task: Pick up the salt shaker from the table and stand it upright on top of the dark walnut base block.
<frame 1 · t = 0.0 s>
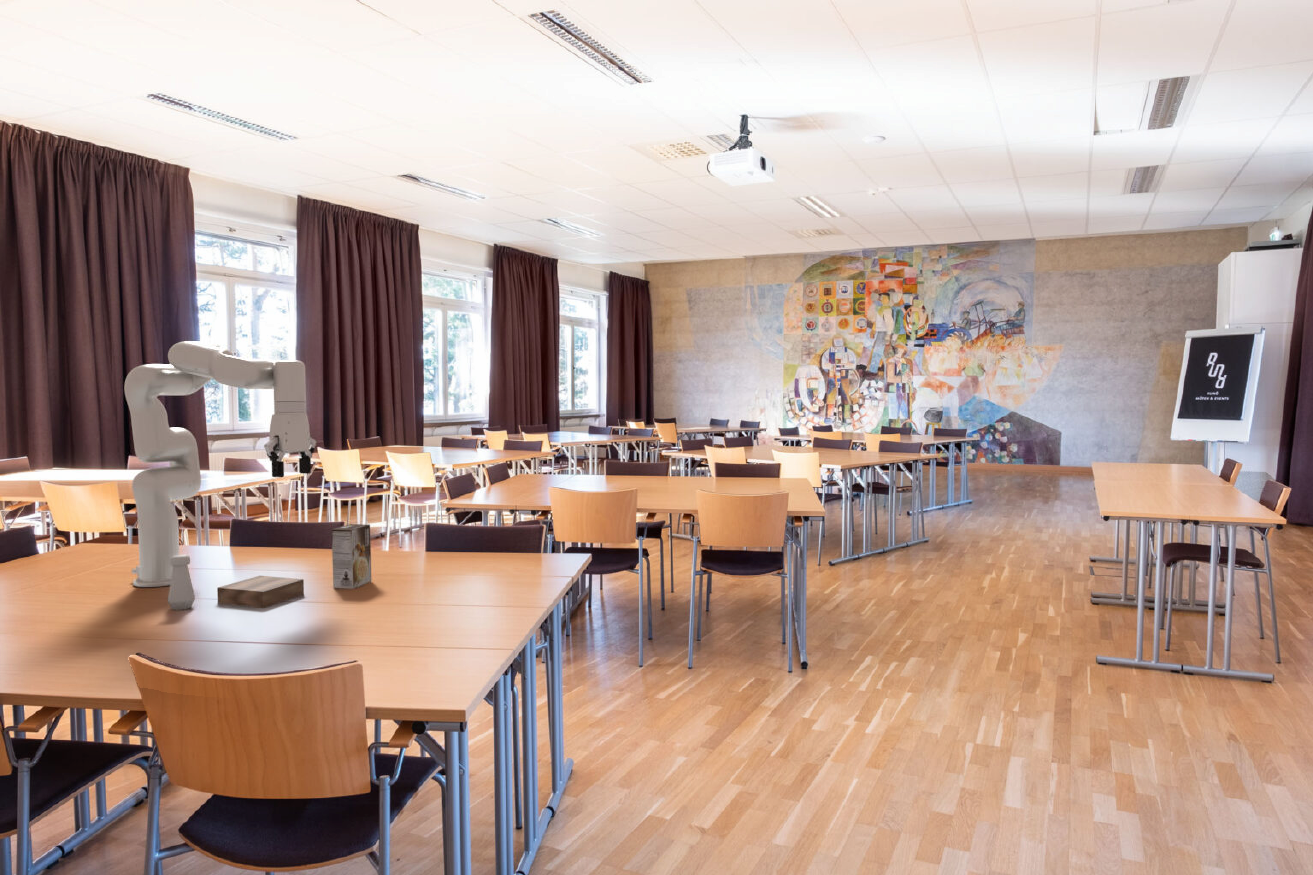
hand: (291, 475, 213), 31 cm above the table, tool pointing down, fingers open, 9 cm apart
coffee box: (352, 585, 226), on the table
salt shaker: (181, 608, 202), on the table
walnut base: (261, 598, 211), on the table
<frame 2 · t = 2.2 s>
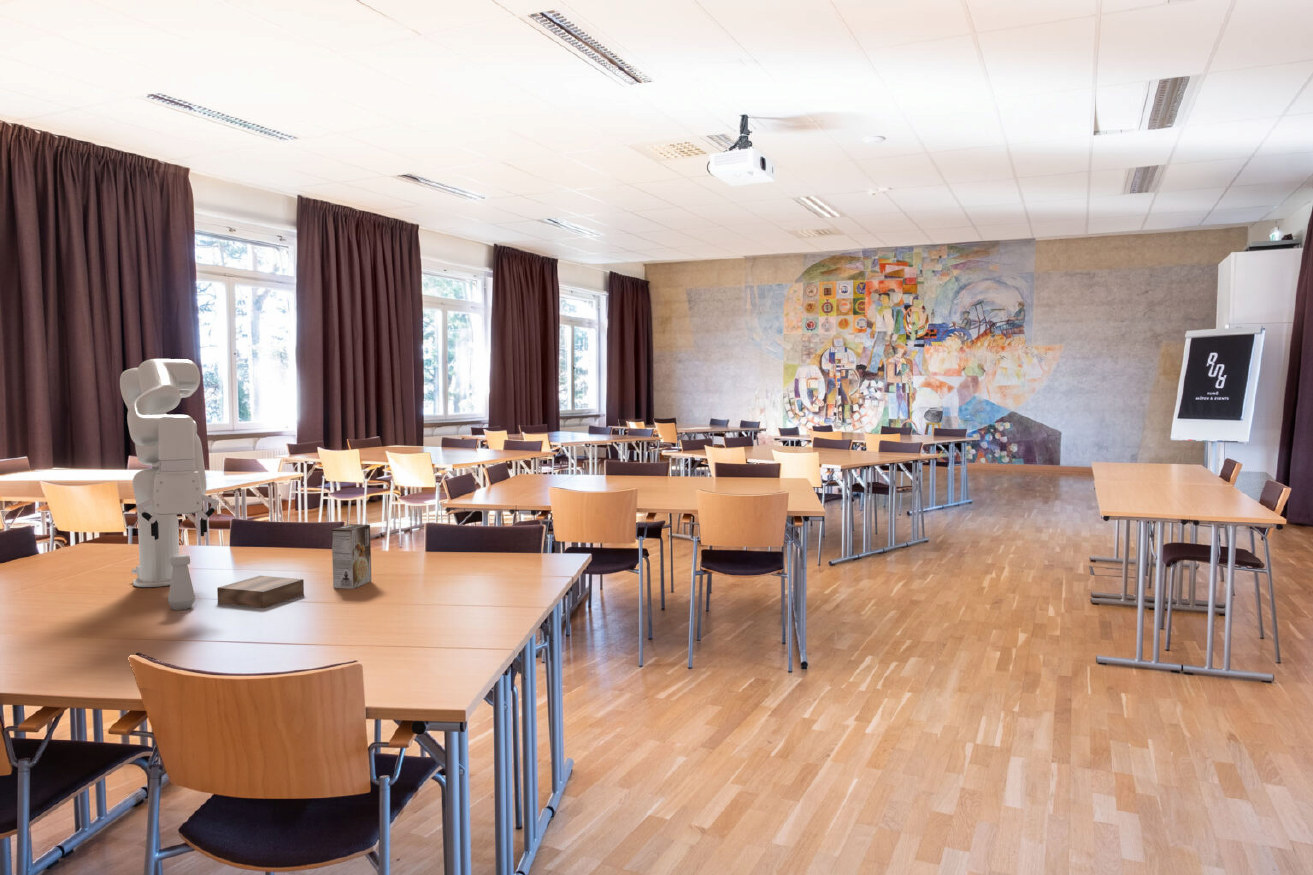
hand: (179, 537, 201), 17 cm above the table, tool pointing down, fingers open, 9 cm apart
nothing on the table moved.
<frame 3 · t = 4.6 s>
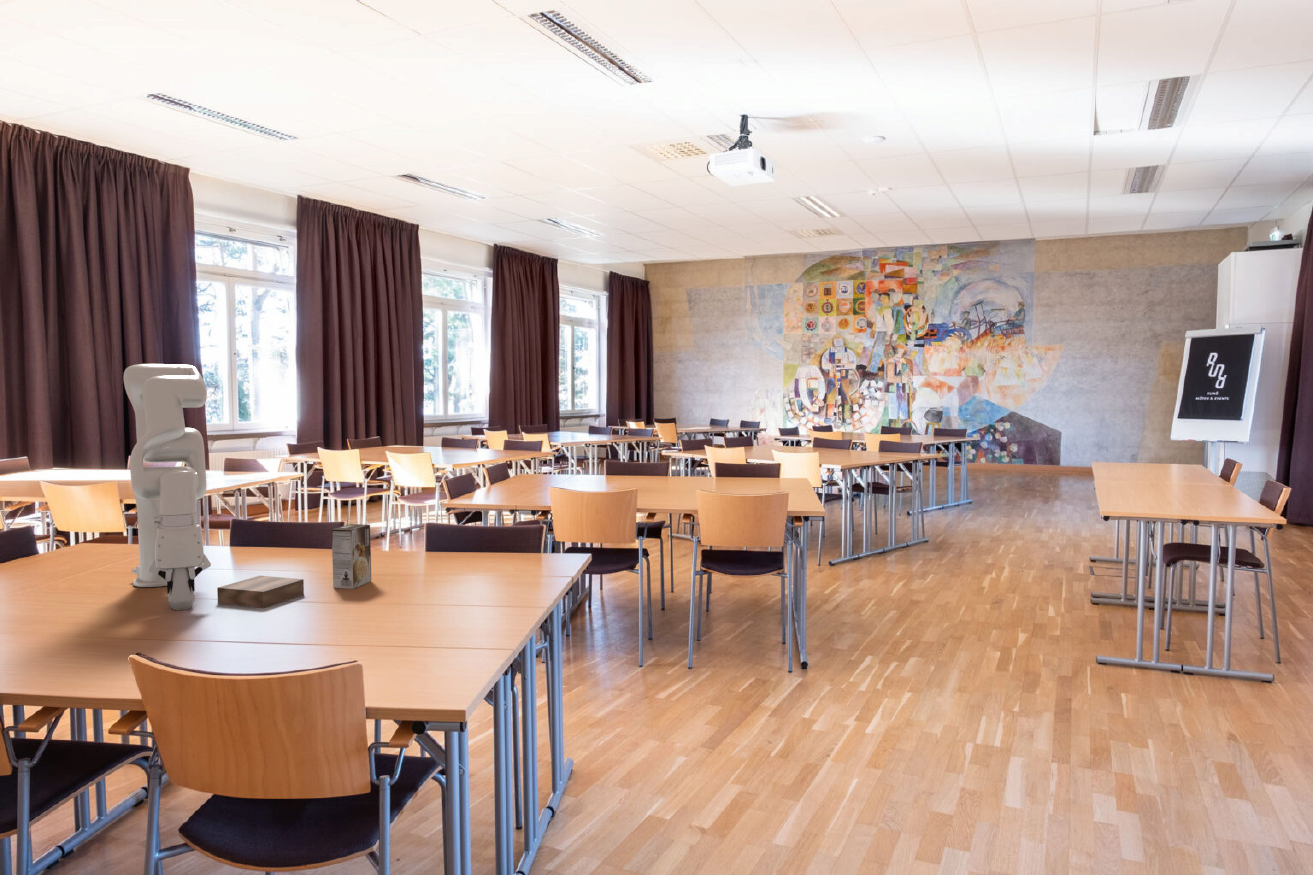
hand: (181, 594, 202), 3 cm above the table, tool pointing down, fingers closed on salt shaker, 3 cm apart
salt shaker: (181, 608, 202), on the table, touching gripper
everything else where it was.
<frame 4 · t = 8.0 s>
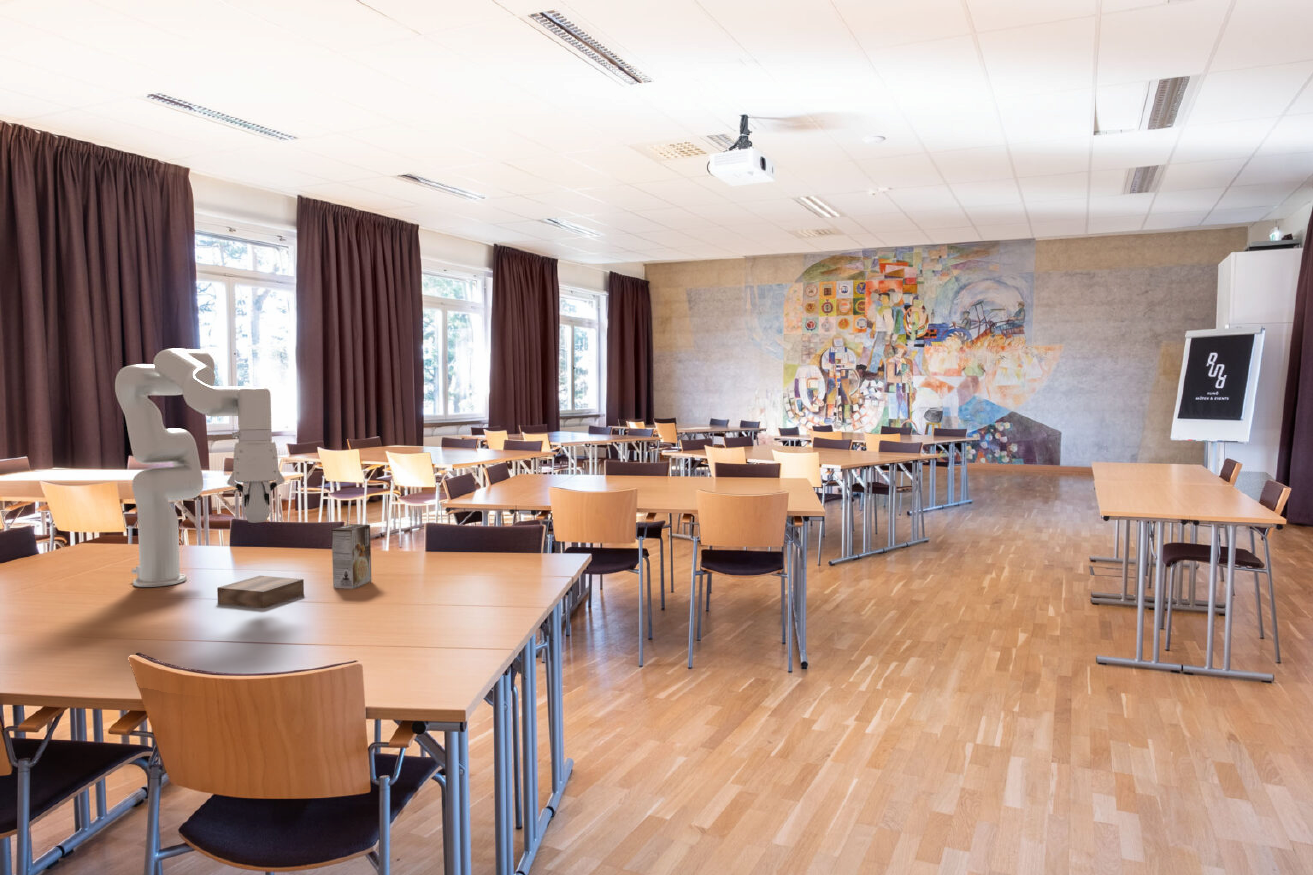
hand: (257, 508, 209), 23 cm above the table, tool pointing down, fingers closed on salt shaker, 3 cm apart
salt shaker: (257, 522, 209), point 20 cm above the table, touching gripper
everything else where it was.
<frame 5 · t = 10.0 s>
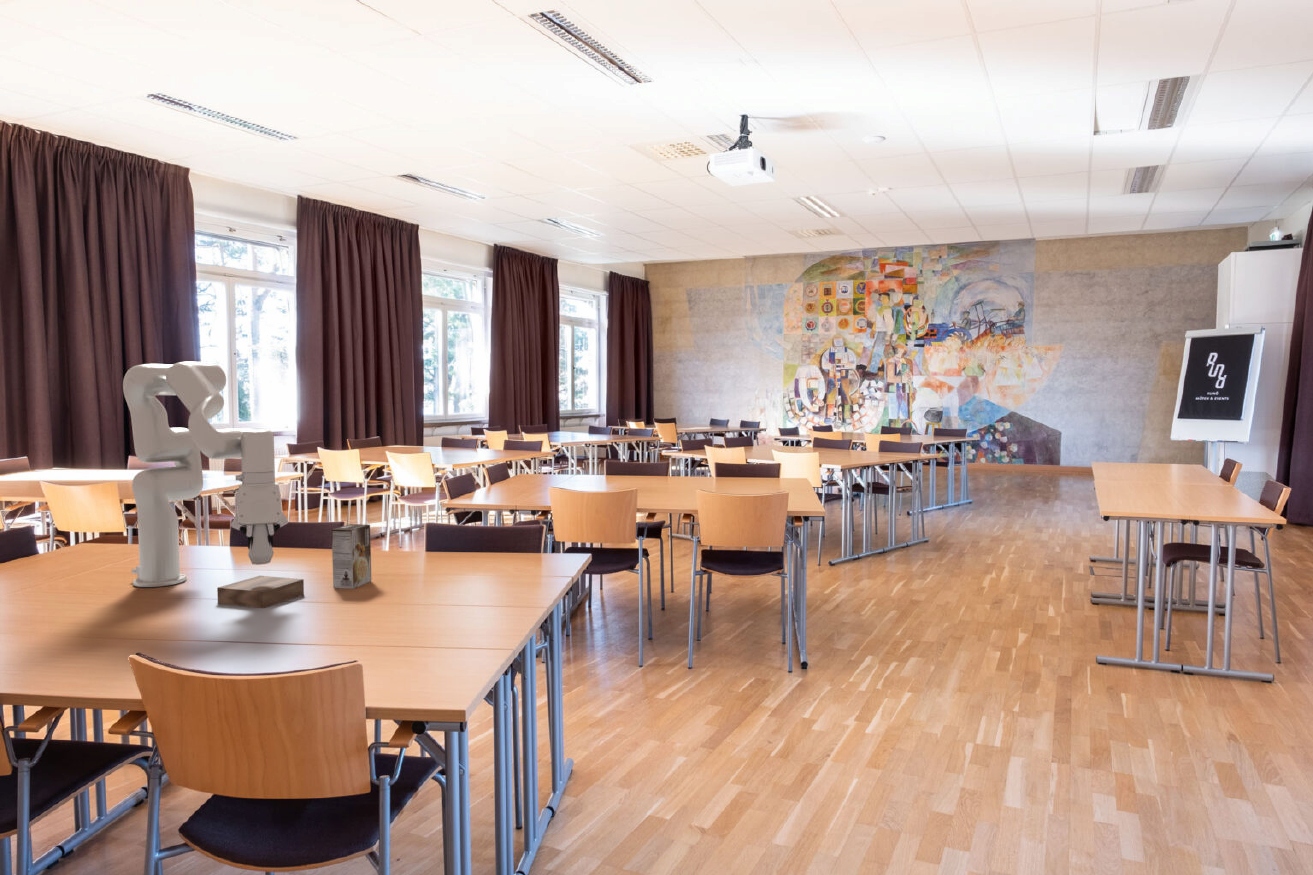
hand: (260, 550, 210), 12 cm above the table, tool pointing down, fingers closed on salt shaker, 3 cm apart
salt shaker: (261, 563, 210), point 9 cm above the table, touching gripper
everything else where it was.
when the fingers open (9 cm above the table, at t = 11.5 s): salt shaker drops 1 cm, resting on walnut base.
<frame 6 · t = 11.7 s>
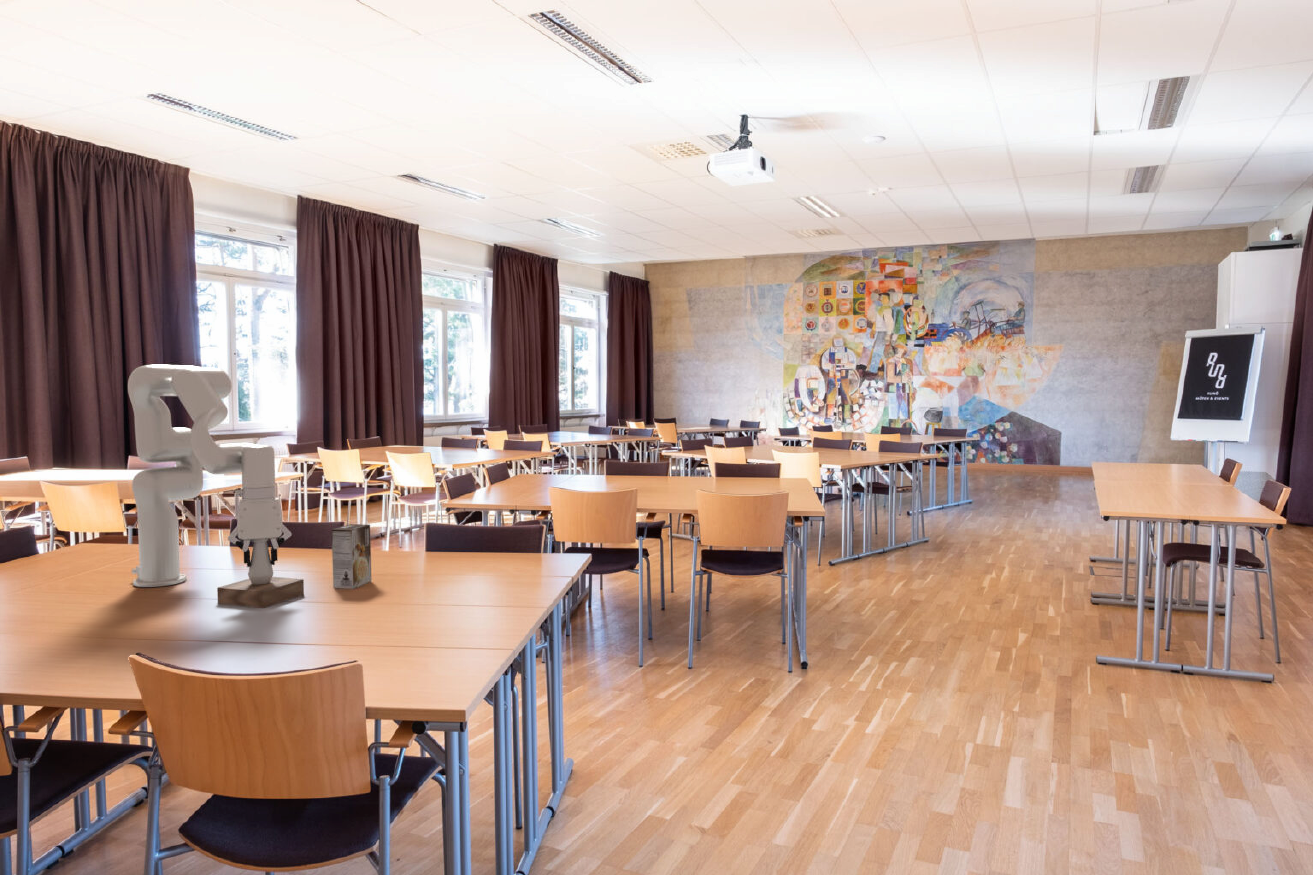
hand: (260, 564, 210), 9 cm above the table, tool pointing down, fingers open, 4 cm apart
salt shaker: (260, 583, 211), point 4 cm above the table, touching walnut base
everything else where it was.
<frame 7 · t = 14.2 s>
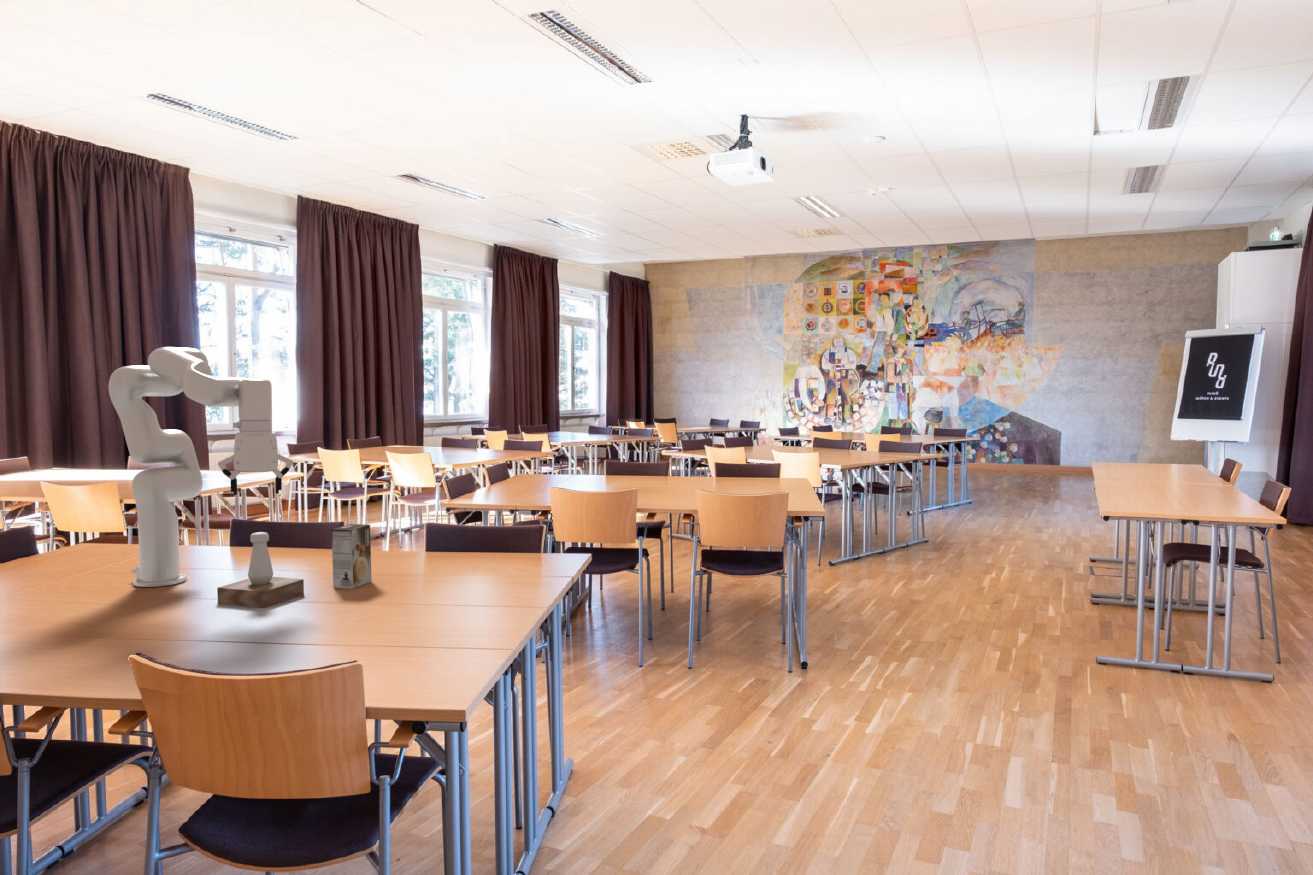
hand: (256, 493, 212), 27 cm above the table, tool pointing down, fingers open, 9 cm apart
nothing on the table moved.
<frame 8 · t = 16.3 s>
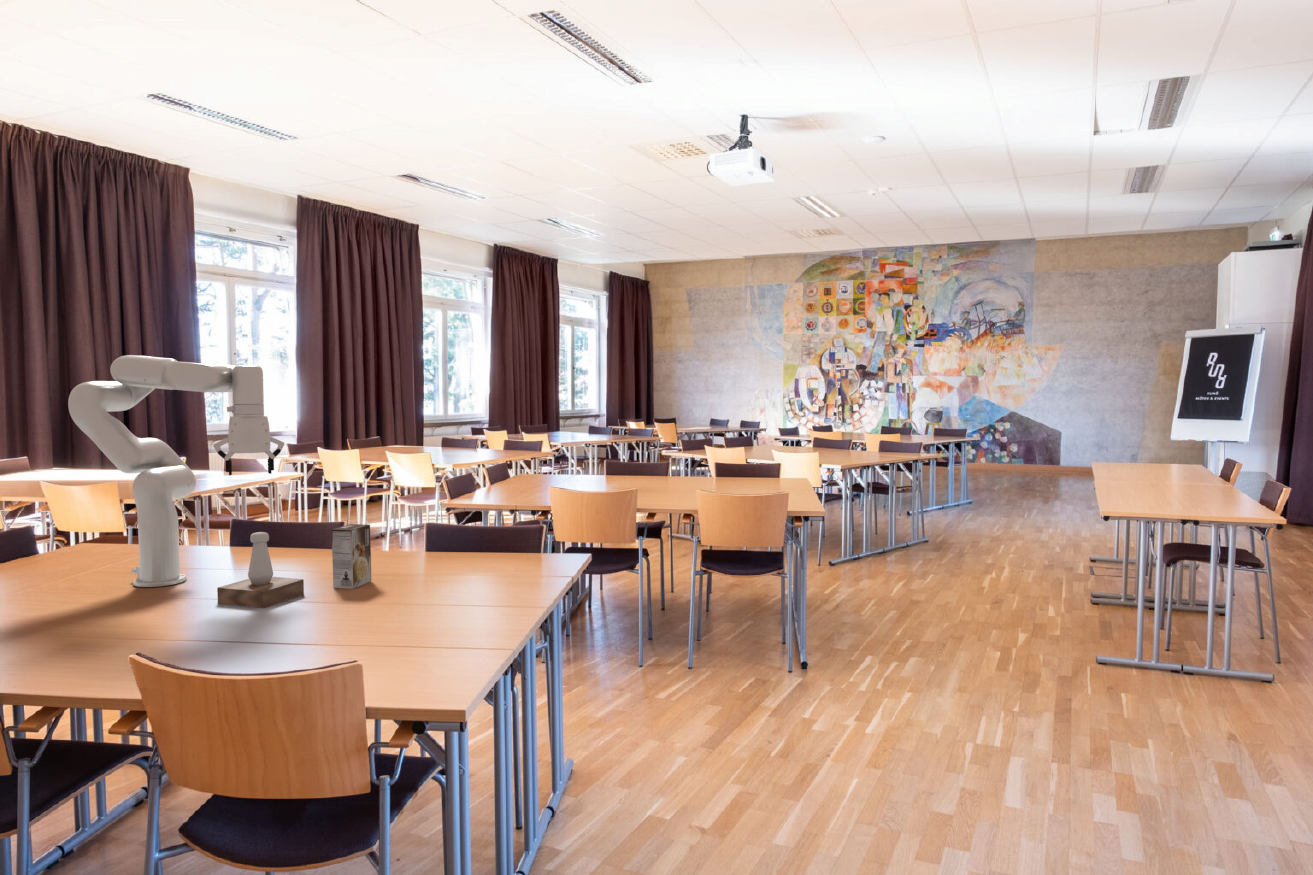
hand: (250, 474, 225), 30 cm above the table, tool pointing down, fingers open, 9 cm apart
nothing on the table moved.
at the end: salt shaker inside the target area on the walnut base (0.1 cm from its centre), point 3.8 cm above the walnut base's base; salt shaker tilted 0°; the gripper is holding nothing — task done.
